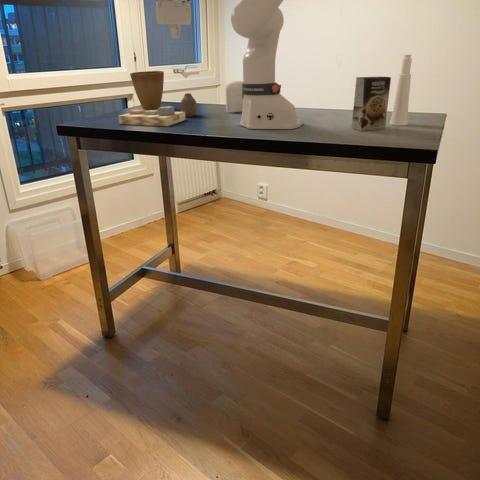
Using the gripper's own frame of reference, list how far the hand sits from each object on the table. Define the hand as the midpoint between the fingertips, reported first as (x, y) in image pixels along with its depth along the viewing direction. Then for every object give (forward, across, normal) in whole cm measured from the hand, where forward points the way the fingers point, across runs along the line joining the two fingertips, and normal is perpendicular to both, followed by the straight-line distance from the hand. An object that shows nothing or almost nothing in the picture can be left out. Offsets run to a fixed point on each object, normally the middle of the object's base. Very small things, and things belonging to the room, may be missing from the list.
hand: (176, 38), depth 160 cm
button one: (+28, -12, +13) cm, 33 cm away
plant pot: (+29, +17, +26) cm, 43 cm away
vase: (+29, +4, -1) cm, 30 cm away
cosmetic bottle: (+29, +3, -83) cm, 88 cm away
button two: (+26, -12, 0) cm, 29 cm away
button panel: (+29, -12, +6) cm, 32 cm away
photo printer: (+29, +18, -17) cm, 38 cm away
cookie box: (+29, -7, -74) cm, 80 cm away
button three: (+28, -12, +6) cm, 31 cm away
